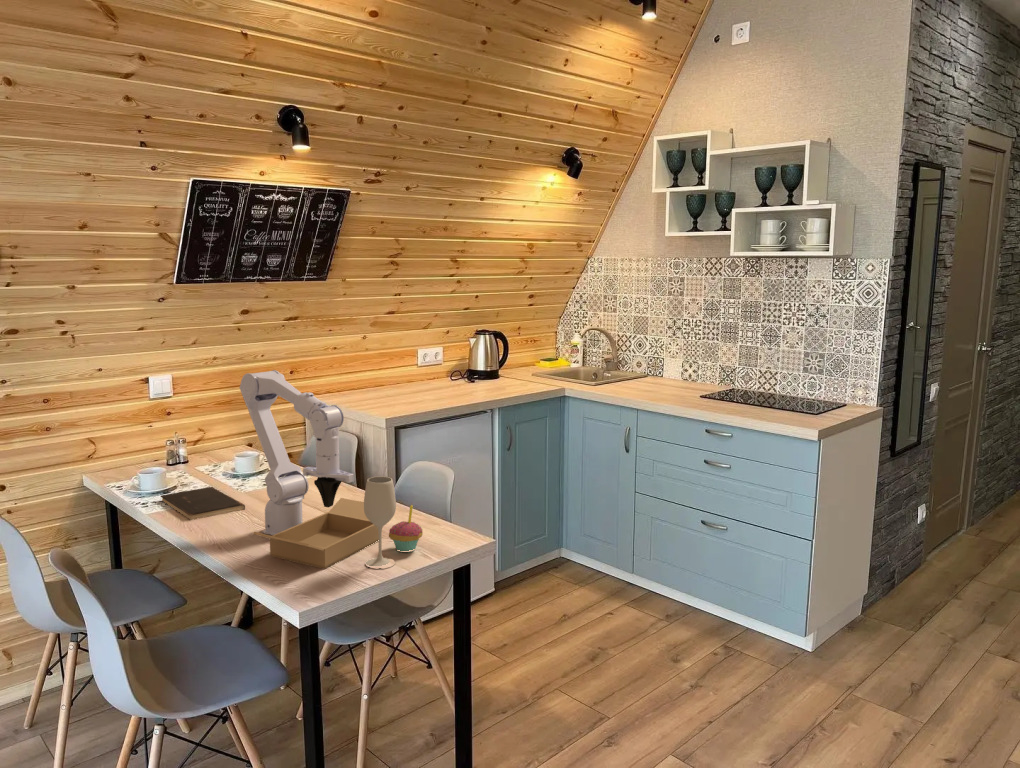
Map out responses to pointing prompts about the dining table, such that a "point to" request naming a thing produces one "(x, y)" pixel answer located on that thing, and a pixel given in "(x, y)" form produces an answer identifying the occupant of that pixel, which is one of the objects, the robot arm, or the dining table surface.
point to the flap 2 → (349, 508)
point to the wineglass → (379, 509)
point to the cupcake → (406, 534)
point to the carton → (325, 539)
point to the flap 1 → (289, 541)
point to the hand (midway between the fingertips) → (328, 506)
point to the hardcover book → (202, 503)
